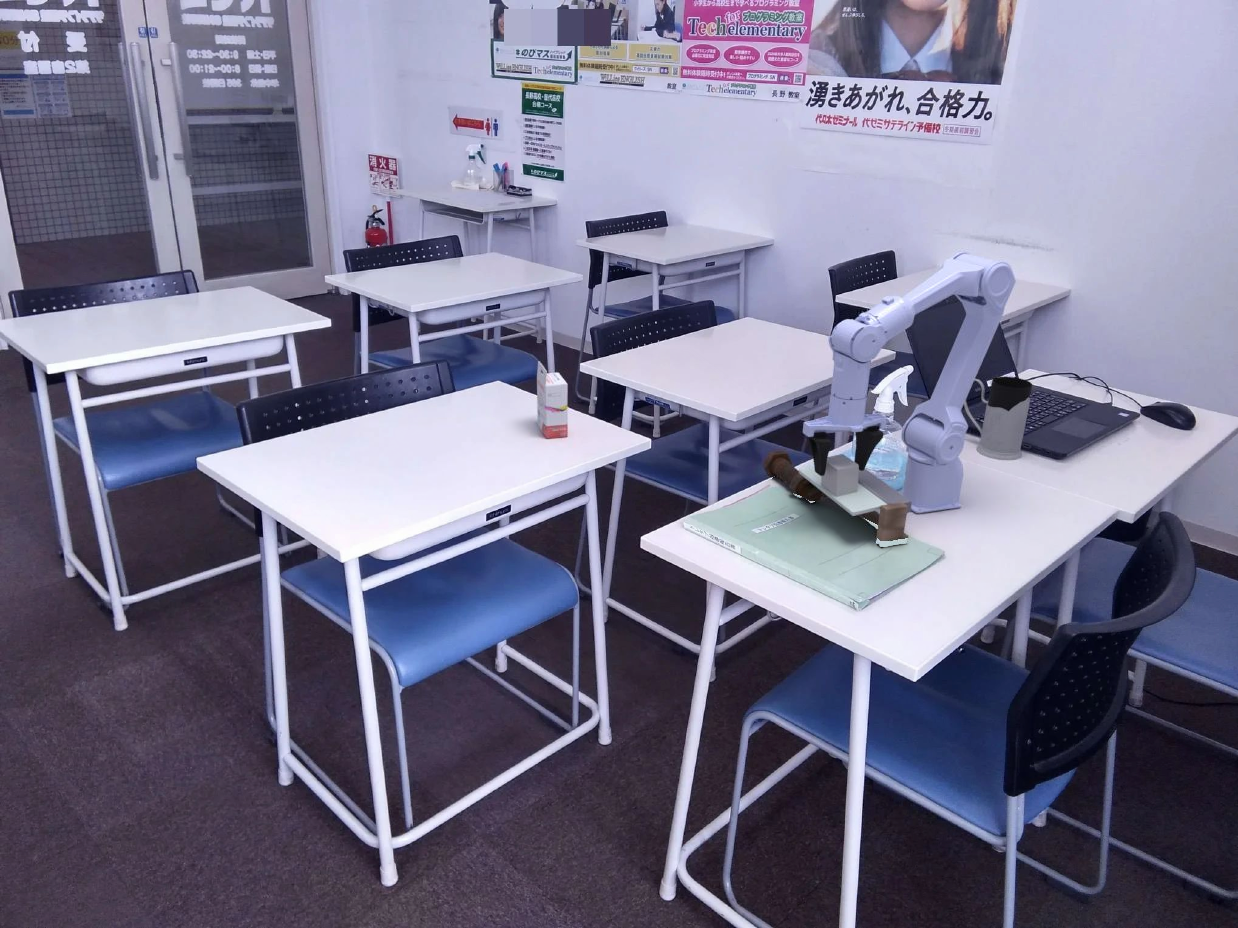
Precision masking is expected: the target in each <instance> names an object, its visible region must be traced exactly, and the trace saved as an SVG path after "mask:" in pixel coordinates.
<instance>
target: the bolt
mask: <svg viewBox="0 0 1238 928" xmlns="http://www.w3.org/2000/svg"><path fill="white" fill-rule="evenodd" d="M762 467H763V470H764V471H765V474H766V475H767V476H768V477H769V478H777V476H778V478H780V479H781V481H783V482H784V483H786V484H787V485H788V486H789V490H790V493H791V494H793V493H794V494H797V495H800V496H802V497H803V498H802V499H804V498H805V499H807V500H809V501H815V502H816V503H818V502H819V501H820V500H821V499H822V498H823V497H822V495H823V492H822V491H821V490H820V489H818V488H817V487H816V486H815V485H813V484H812V483H811V482H810V481H808V480H807V479H806V478H805V477H803V476H802V475H801V474H800V473H799V470H798V469H797V468H796V467H794V466H793V462H792V460H791V458H790V456H789V453H788V452H787V451H786V450H783V449H782V450H781V449H780V450H773V451H771V452H769V453H768V454H767V456H766V457H765V459H764V461H763V464H762ZM805 499H804V500H805Z"/></svg>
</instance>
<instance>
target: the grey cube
mask: <svg viewBox="0 0 1238 928" xmlns="http://www.w3.org/2000/svg"><path fill="white" fill-rule="evenodd" d="M858 471H859V465H858V464H857V463H855V462H854V460H853V459H851V458H849V457H848V456H846V455H845V454H843V453H841V454H836V455H832V456H828V457H827V464H826V471H825V475H824V476H821V485H822V486H823V487H824V488H826V489H827V490H828V491H830V492H831V493H832V494H834V495H835V496H836V497H838V496H843V495H847V494H851V493H855V492H858Z"/></svg>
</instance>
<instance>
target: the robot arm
mask: <svg viewBox="0 0 1238 928" xmlns="http://www.w3.org/2000/svg"><path fill="white" fill-rule="evenodd" d="M1016 282H1017V280H1016V278H1015V274H1014V271H1013V269H1012V267H1011V265H1010V264H1009V263H1008V262H1006V261H1004V260H995V259H990V258H987V257H982V256H978V255H975V254H971V253H969V252H966V251H961V252H958V253H955V254H954V255H953V256H952V257H950V258H948V259H946V260H944V261H943V263H942V265H941V268H940V270H938V271H937V272H936V273H934V274H932V275H931V276H930V277H929V278H927V279H926V280H925V281H923V282H922V283H920V284H919V285H918V286H916V287H915V288H914V289H912V290H911V291H910V292H908V293H906V295H903V296H902V297H901V296H898V295H891V296H889V295H886V296H884V297H883V298H882V299H881V301H882V302H880V303H878V304H876V305H875V306H873V307H871V308H870V309H869V310H867V311H865V312H861V313H860V314H858V316H857V317H856V318H855V319H853V318H852V319H849V318H847V319H844V320H842V321H841V322H839V323H837V324H836V326H834V328H833V330H832V332H831V335H829V336H828V344H829V347H830V349H831V351H832V361H833V371H832V380H831V386H830V387H831V388H830V398H829V406H828V415H826V416H822V417H820V418H816V419H813V420H808V421H804V422H803V425H802V426H803V428H802V433H803V434H804V436H805V438H806V441H807V443H808V446H809V448H810V452H811V456H812V460H813V467H814V468H815V472H816V473H817V474H819V475H820V476H824V475H825V471H826V464H827V457H829V453H830V450H831V447H832V444H833V441H832V440H830V439H829V438H828V437H829V435H827V434H831V433H832V434H833V433H842V432H849V431H850V432H852V433H854V434H855V452H854V460H853V461H854V462H855V463H857V464H858V465H859V470H860V471H864V469H866V467H867V464H868V462H869V459H870V458H871V456H872V454H873V452H874V450H875V449H876V447H877V445H878V444H879V443H880V442H881V441H882V439H883V438H884V432H883V431H882V429H884V430H885V429H886V426H887V419H888V417H886V415H885V416H884V415H883V414H881V413H874V414H873V413H872V414H870V413H867V414H866V406H867V405H866V403H867V397H868V396H867V395H868V389H869V388H868V387H869V380H870V373H871V366H872V360H874V359H875V358H877V356H878V355H879V353H880V351H881V350H882V348H883V347H884V346H885V345H886V343H887V342H888V341H889V340H892V339H893V338H894V337H896V336H897V335H899V334H900V333H902V332H904V331H906V330H907V329H908V328H910V327H912V325H913V323H914V319H915V316H916V315H918V314H919V313H921V312H923V311H925V310H927V309H928V308H930V307H932V306H935V305H936V304H938V303H940V302H942V301H943V300H945V299H948V298H949V297H950V296H953V295H954V296H956V298H957V299H958V300H959V301H960V302H961V303H962V306H963V308H964V311H965V318H964V319H963V321H962V324H961V327H960V329H959V332H958V333H957V336H956V338H955V341H954V343H953V346H952V347H951V350H950V352H949V355H948V357H947V360H946V362H945V363H944V367H943V368H942V371H941V374H940V376H939V377H938V378H939V379H938V380H937V382H936V385H935V387H934V389H933V392H932V394H931V396H930V399H928V400H926V401H924V402H922V403H920V404H917V405H916V406H915V408H914V411H913V412H912V414H911V415H910V417H909V418H908V419H907V420H906V422H904V424H903V427H902V430H901V441H902V442H903V444H904V445H905V446H906V448H905V452H907V453H908V455H907V459H906V460H907V462H906V469H905V474H904V481H903V487H902V491H898V492H899V493H900V494H902V495H903V496H905V497H906V498H907V499H909V500H910V501H912V504H911V512H914V513H915V514H924V513H930V512H936V511H937V512H938V511H943V510H949V509H950V510H952V509H958V508H961V507H962V504H961V503H959V501H960V496H961V491H962V490H961V489H962V484H963V479H964V466H963V462H962V460H961V459H960V458H959V456H960V455H961V453H962V452H963V449H964V445H965V437H966V433H967V430H968V428H969V424H968V423H967V420H966V417H964V415H963V413H962V410H963V407H964V402H965V400H966V401H967V398H968V395H969V393H970V391H971V388H972V386H973V383H974V382H975V381H974V379H976V377H977V375H978V373H979V370H980V368H981V366H982V363H983V360H984V358H985V356H986V354H987V352H988V350H989V347H990V345H991V343H992V340H993V339H994V335H995V333H996V331H997V329H998V327H999V325H1000V322H1001V320H1002V317H1003V315H1004V313H1005V312H1004V311H1005V307H1006V305H1007V303H1008V300H1009V299H1010V296H1011V293H1012V291H1013V289H1014V287H1015V284H1016Z"/></svg>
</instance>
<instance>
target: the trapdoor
mask: <svg viewBox="0 0 1238 928" xmlns="http://www.w3.org/2000/svg"><path fill="white" fill-rule="evenodd" d="M798 471H799V473H800V474H801V475H802V476H803V477H805V478H806V479H807V480H808V481H810V482H811V483H812V484H813V485H815V486H816V487H817V488H818V489H820V490H821V491H822V492H823V493H825V494H826V495H827V496H826V497H828V498H830V499H831V500H832V501H833V502H835V504H837V505H839V506H840V507H841V508H842V509H843V510H845V511H846V512H847V513H849V515H851V516H852V517H854V516H858V515H859V514H863V513H868V512H872V511H876V512H877V511H880V508H881V505H887V504H894V503H901V502H902V503H904V504H905V505H906V506H908V509H907V514H908V513H909V514H910V513H912V510H911V504H912V501H910V500H909V499H907V498H906V497H905V496H903V495H902V494H900V493H899V492H900V491H898V490H896V489H894V488H893V487H891V486H890V485H889V484H887V483H886V482H885V481H883V480H882V479H881V478H878V477H877V476H876V475H874V474H873V473H872V472H870V471H869V470H868V469H866V468H865V469H864V471H860V470H859V471H858V492H855V493H851V494H847V495H843V496H838V497H836V496H835V495H834V494H832V493H831V492H830V491H828V490H827V489H826V488H824V487H823V486H822V485H821V476H820V475H819V474H817V473H816V472H815V468H814V466H810V467H806V468H801V469H799V470H798Z"/></svg>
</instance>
